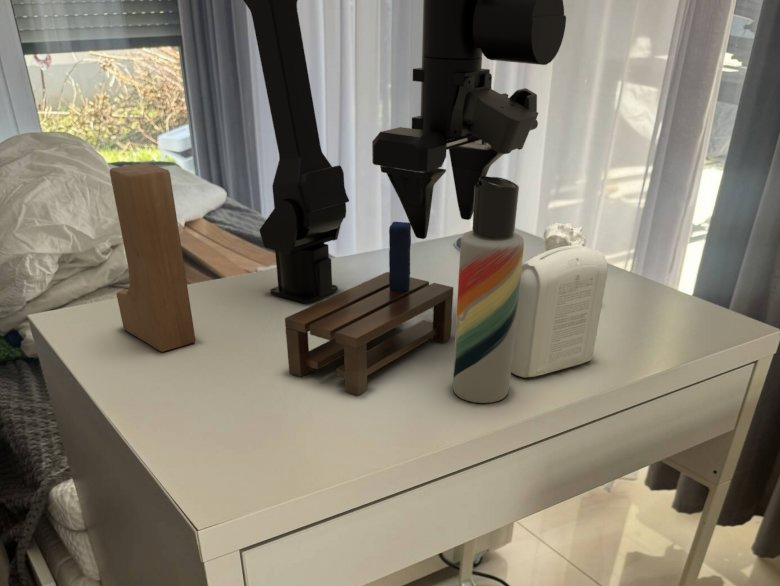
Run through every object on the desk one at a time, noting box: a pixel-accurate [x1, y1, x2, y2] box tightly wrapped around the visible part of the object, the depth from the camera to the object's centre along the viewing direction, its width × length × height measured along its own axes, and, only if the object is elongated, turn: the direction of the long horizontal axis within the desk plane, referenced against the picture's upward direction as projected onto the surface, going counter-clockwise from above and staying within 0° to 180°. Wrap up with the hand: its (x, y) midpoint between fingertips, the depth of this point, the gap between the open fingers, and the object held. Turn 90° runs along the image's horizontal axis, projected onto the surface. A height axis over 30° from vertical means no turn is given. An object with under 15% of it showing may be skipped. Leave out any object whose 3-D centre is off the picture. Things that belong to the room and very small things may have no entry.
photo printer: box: [511, 245, 609, 378], centre depth 80 cm, size 10×4×12 cm, turn 123°
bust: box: [542, 221, 587, 252], centre depth 94 cm, size 12×8×11 cm
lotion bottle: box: [452, 175, 525, 404], centre depth 72 cm, size 6×6×20 cm
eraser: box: [388, 221, 412, 292], centre depth 83 cm, size 2×2×7 cm
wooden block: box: [109, 162, 197, 353], centre depth 83 cm, size 9×4×18 cm, turn 43°
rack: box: [284, 271, 454, 396], centre depth 83 cm, size 9×18×6 cm, turn 146°
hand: (444, 228), depth 82 cm, fingers open, 9 cm apart
